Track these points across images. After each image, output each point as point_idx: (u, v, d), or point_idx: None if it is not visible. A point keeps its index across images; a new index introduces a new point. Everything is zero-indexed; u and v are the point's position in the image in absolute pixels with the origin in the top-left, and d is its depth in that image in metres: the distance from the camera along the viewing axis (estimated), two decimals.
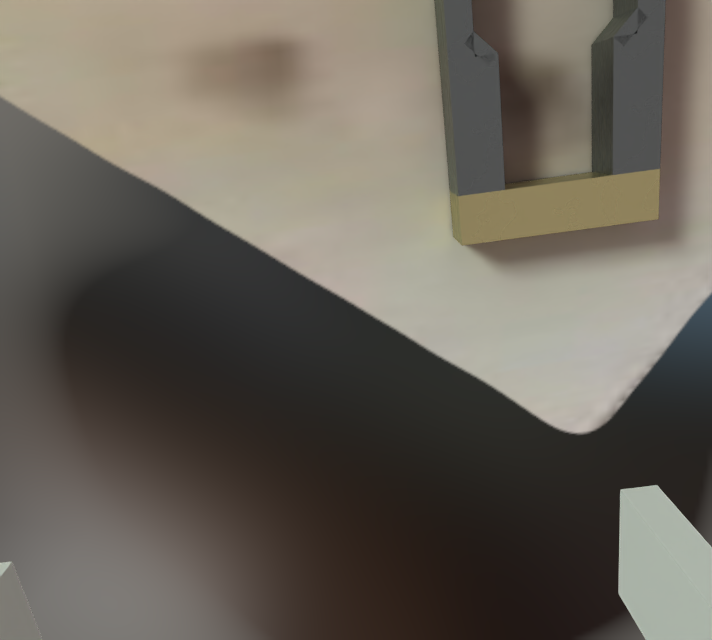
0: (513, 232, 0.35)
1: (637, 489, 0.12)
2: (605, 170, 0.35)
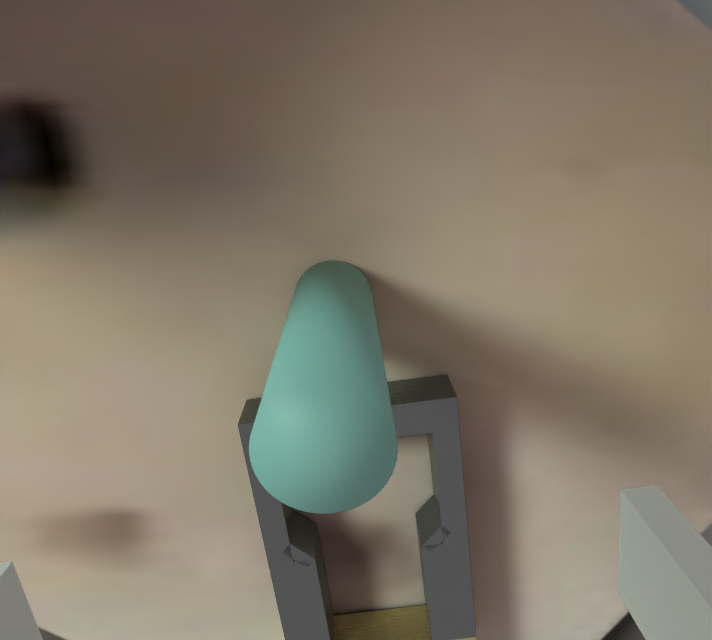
0: None
1: (637, 489, 0.12)
2: (429, 626, 0.37)
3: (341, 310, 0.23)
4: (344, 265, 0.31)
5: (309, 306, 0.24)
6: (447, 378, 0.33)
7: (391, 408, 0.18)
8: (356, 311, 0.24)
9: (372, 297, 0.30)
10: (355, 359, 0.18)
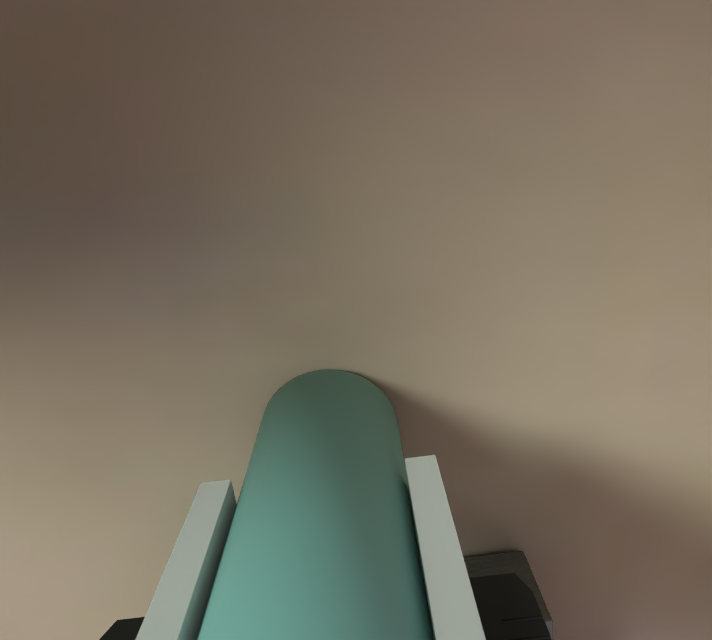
0: None
1: (418, 458, 0.14)
2: None
3: (344, 591, 0.09)
4: (349, 383, 0.17)
5: (268, 558, 0.10)
6: (525, 562, 0.19)
7: None
8: (379, 573, 0.10)
9: (401, 447, 0.16)
10: None
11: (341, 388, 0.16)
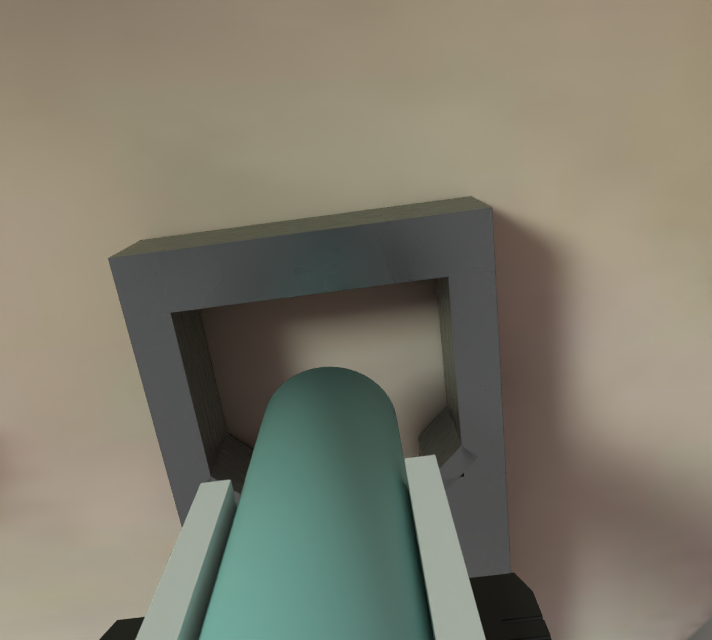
0: None
1: (417, 458, 0.14)
2: None
3: (344, 578, 0.09)
4: (349, 380, 0.17)
5: (271, 547, 0.10)
6: (472, 198, 0.20)
7: None
8: (378, 561, 0.10)
9: (400, 442, 0.16)
10: None
11: (341, 385, 0.17)
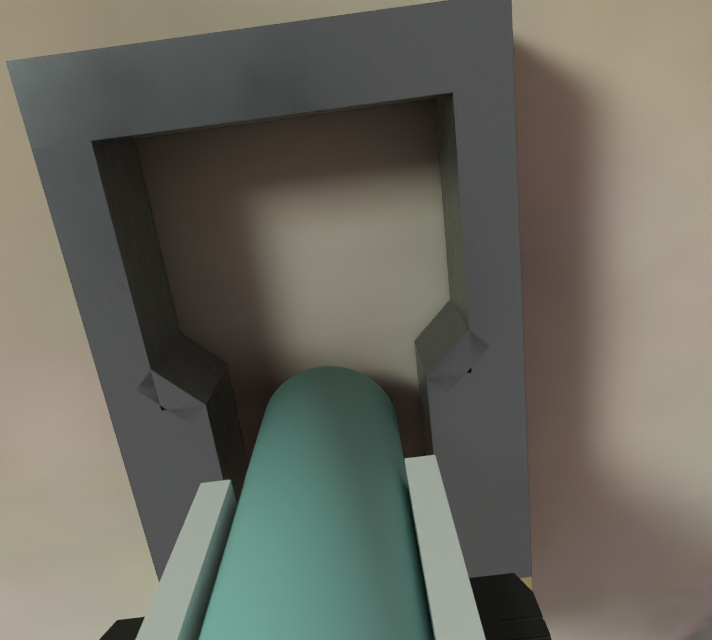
0: None
1: (417, 458, 0.14)
2: None
3: (345, 577, 0.10)
4: (349, 379, 0.17)
5: (271, 546, 0.10)
6: None
7: None
8: (378, 560, 0.10)
9: (400, 442, 0.17)
10: None
11: (341, 384, 0.17)
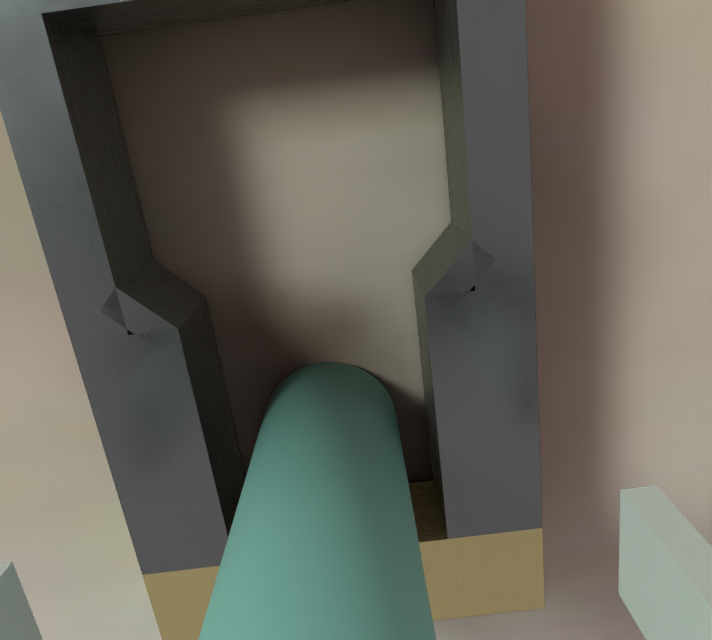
0: None
1: (637, 489, 0.12)
2: (441, 511, 0.18)
3: (345, 562, 0.10)
4: (349, 375, 0.18)
5: (273, 533, 0.11)
6: None
7: None
8: (377, 547, 0.11)
9: (399, 436, 0.17)
10: None
11: (341, 379, 0.17)
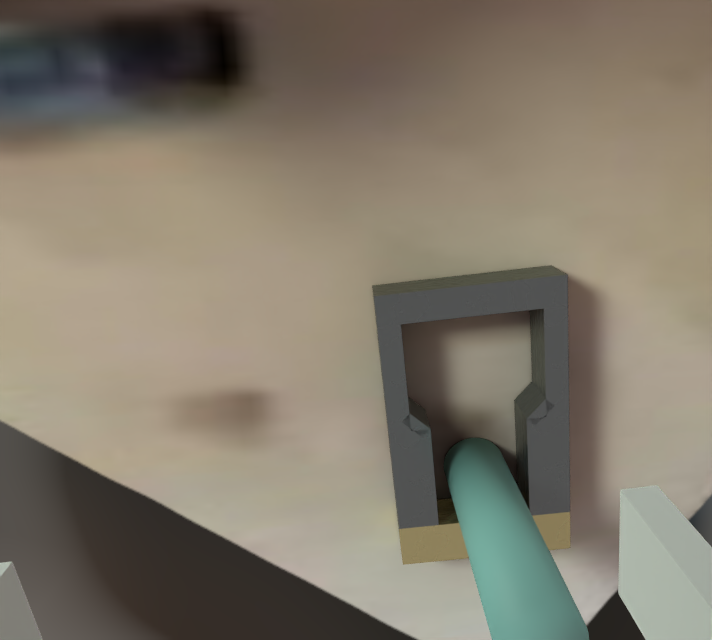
0: (446, 555, 0.41)
1: (637, 489, 0.12)
2: None
3: (515, 512, 0.33)
4: (486, 444, 0.41)
5: (489, 504, 0.34)
6: (552, 267, 0.37)
7: None
8: (522, 509, 0.34)
9: None
10: (550, 573, 0.28)
11: (484, 447, 0.40)
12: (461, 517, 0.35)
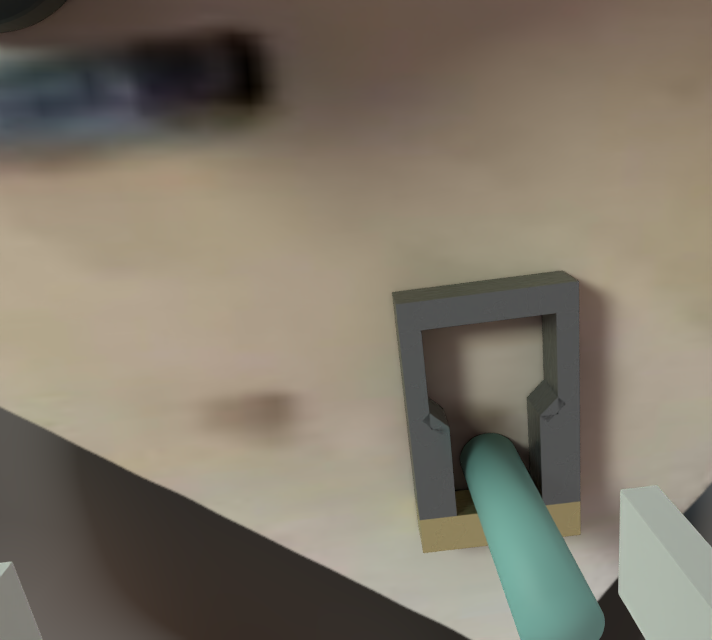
0: (464, 544, 0.43)
1: (637, 489, 0.12)
2: None
3: (532, 506, 0.35)
4: (501, 439, 0.43)
5: (507, 499, 0.36)
6: (563, 272, 0.39)
7: None
8: (538, 502, 0.36)
9: None
10: (568, 563, 0.31)
11: (499, 442, 0.43)
12: (480, 510, 0.38)
